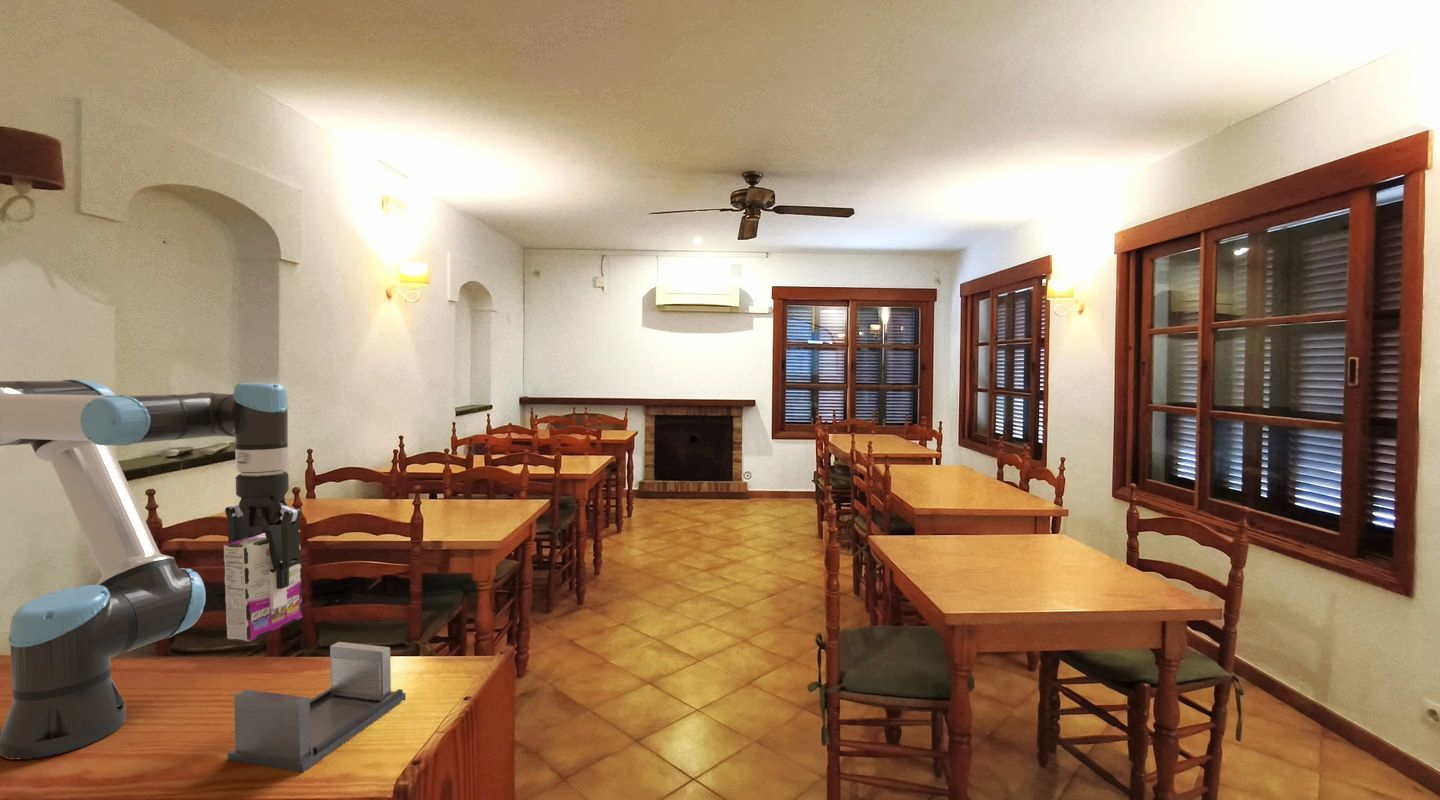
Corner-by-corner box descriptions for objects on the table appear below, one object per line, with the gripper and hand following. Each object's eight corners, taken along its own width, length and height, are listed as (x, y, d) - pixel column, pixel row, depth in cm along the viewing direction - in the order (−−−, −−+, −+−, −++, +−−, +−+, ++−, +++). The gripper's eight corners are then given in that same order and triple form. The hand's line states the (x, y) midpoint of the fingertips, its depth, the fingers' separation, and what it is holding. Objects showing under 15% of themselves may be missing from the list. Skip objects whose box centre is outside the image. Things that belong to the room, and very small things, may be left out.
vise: (227, 760, 104) (225, 696, 103) (341, 691, 126) (340, 638, 126) (303, 772, 101) (301, 706, 100) (405, 699, 123) (404, 645, 123)
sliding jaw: (330, 694, 121) (329, 646, 121) (362, 675, 129) (361, 630, 129) (382, 701, 119) (381, 652, 119) (411, 681, 127) (411, 635, 126)
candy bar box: (280, 616, 122) (279, 527, 121) (303, 618, 121) (302, 529, 120) (223, 640, 111) (221, 543, 110) (248, 643, 110) (246, 545, 109)
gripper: (198, 473, 113) (201, 607, 114) (287, 478, 109) (290, 617, 110) (239, 466, 120) (241, 593, 121) (324, 471, 116) (325, 602, 117)
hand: (264, 604), depth 115 cm, fingers closed on candy bar box, 5 cm apart
